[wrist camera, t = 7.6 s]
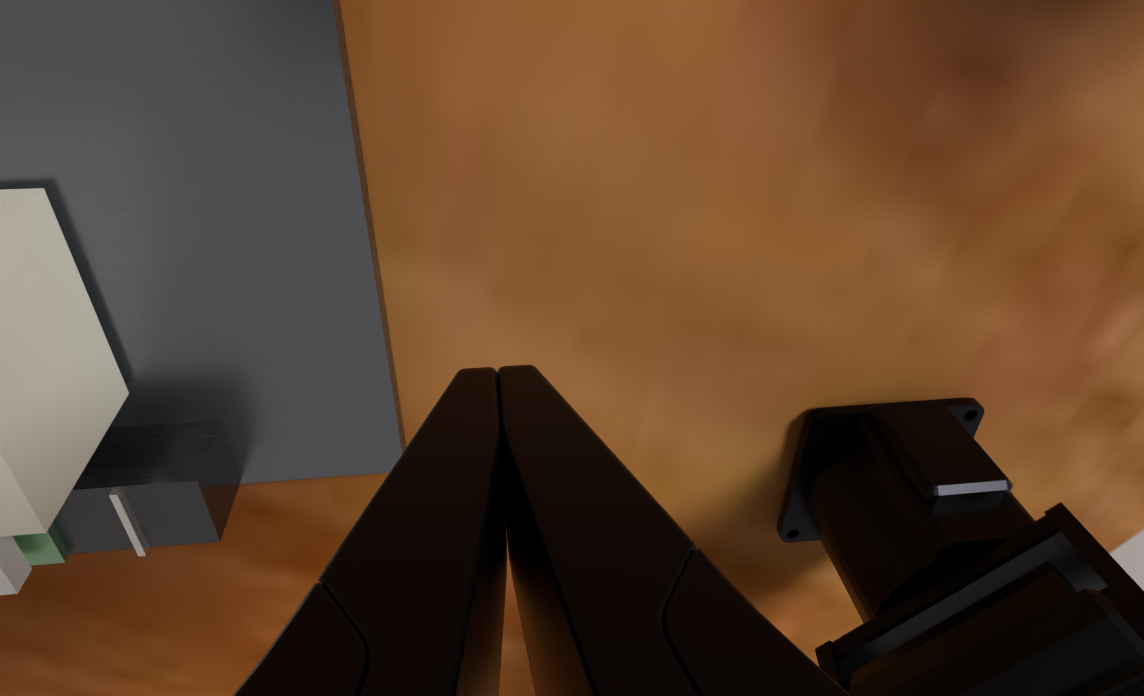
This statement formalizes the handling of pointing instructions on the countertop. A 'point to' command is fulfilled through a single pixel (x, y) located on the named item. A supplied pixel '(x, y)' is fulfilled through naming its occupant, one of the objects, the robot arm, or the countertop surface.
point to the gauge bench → (205, 251)
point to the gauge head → (45, 375)
